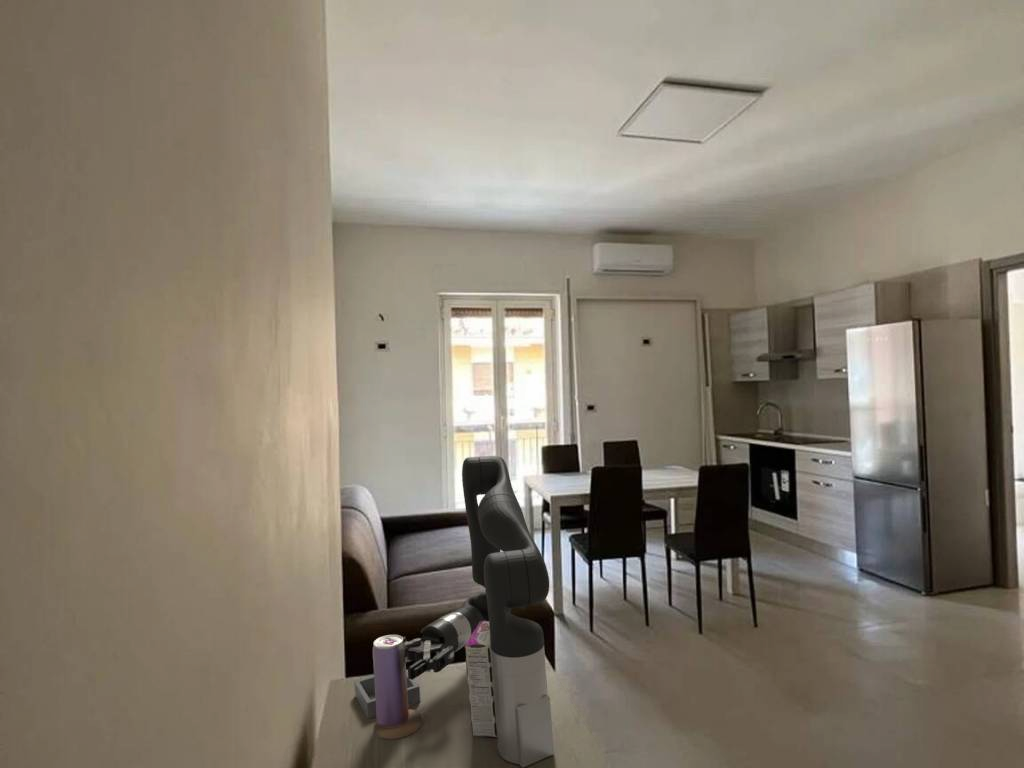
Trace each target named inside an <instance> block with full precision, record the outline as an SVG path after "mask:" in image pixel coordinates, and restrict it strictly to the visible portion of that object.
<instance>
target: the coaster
mask: <svg viewBox="0 0 1024 768" xmlns="http://www.w3.org/2000/svg"><path fill="white" fill-rule="evenodd" d="M408 709H409V708H408ZM423 722H424V719H423V715H422V714H421V712H419V711H417V710H415V709H409V716H408V718H407V720H406V722H405V723H404V724H403V725H401V726H399V727H396V728H391V729H386V728H382V727H381V726H380V725H379V724H378V723H377V720H376V721H375V723H374V725H373V732H374V734H375V736H377V737H378V738H381V739H383V740H399V739H403V738H406V737H409V736H411V735H413V734H415V733H416V732H417V731H418V730H420V728H421V727H422V726H423Z"/></svg>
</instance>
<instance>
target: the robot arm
mask: <svg viewBox="0 0 1024 768" xmlns="http://www.w3.org/2000/svg"><path fill="white" fill-rule="evenodd" d="M461 468H462V469H461V483H462V490H463V499H464V505H465V515H466V521H467V527H468V532H469V540H470V548H471V550H470V551H471V572H472V573H471V574H472V580H473V582H474V583H476V584H477V585H480V586H482V587H483V588H484V590H485V592H475V593H473V594H470V595H469V596H468V598H467V599H466V600H465V601H464V602H463V604H462V605H461V606H460V607H459V608H457V609H456V610H453V611H452V612H449V613H448V614H445V615H443V616H441V617H440V618H438V619H436V620H435V621H433V622H431V623H429V624H427V625H426V626H424V627H423V628H422V629H421V630H420V633H419V634H418V636H417V637H416V638H414V639H412V640H409V641H407V638H406V636H402V637H403V641H404V644H405V651H406V656H405V659H406V663H409V662H414V663H413V664H412V665H410V666H409V667H408V668H407V672H408V679H411V680H413V679H414V680H415V679H416V678H418V677H420V676H421V675H422V674H424V673H429V672H431V671H432V670H433V673H440V672H441V671H442V670H443V669H444V668H446V667H447V666H448V665H450V664H451V663H452V662H454V660H455V653H456V652H457V651H460V649H462V648H463V647H465V645H466V643H467V641H468V640H469V638H470V637H471V635H472V634H473V632H474V630H475V629H476V627H477V625H478V624H479V622H480V621H489V628H490V645H491V659H492V674H493V688H494V702H495V716H496V728H497V737H496V738H497V739H496V741H497V751H498V754H499V756H500V757H501V758H502V759H503V760H505V761H507V762H509V763H511V764H517V765H519V766H520V767H521V768H525V767H528V766H530V765H532V764H535V763H537V762H540V761H541V760H544V759H546V758H548V757H551V756H553V755H554V754H555V749H554V735H553V722H552V721H553V720H552V719H553V718H552V708H551V698H550V695H549V693H548V681H547V680H548V679H547V669H546V668H547V666H546V653H545V638H544V631H543V630H544V629H543V628H542V626H541V625H540V624H539V623H538V622H536V621H534V620H531V619H527V618H524V617H519V616H516V615H514V614H512V613H511V611H512V610H511V609H512V608H517V607H518V608H519V607H526V606H532V605H536V604H540V603H542V602H544V601H545V600H546V599H547V597H548V595H549V592H550V575H549V571H548V568H547V565H546V563H545V559H544V557H543V555H542V553H541V551H540V548H539V547H538V546H537V544H536V542H535V540H534V539H533V537H532V535H531V533H530V531H529V528H528V525H527V521H526V519H525V516H524V513H523V511H522V508H521V505H520V503H519V501H518V499H517V496H516V493H515V492H514V489H513V486H512V485H513V484H512V483H511V482H512V481H511V476H510V473H509V470H508V466H507V463H506V461H505V459H504V457H501V456H499V455H498V456H497V455H484V456H483V455H482V456H480V455H479V456H470V457H466V458H465V459H464V460H463V463H462V467H461ZM479 495H481V496H482V495H484V496H483V497H482V498H481V500H480V502H479V503H478V496H479Z"/></svg>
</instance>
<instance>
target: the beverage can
mask: <svg viewBox="0 0 1024 768" xmlns="http://www.w3.org/2000/svg"><path fill="white" fill-rule="evenodd" d="M403 637H404V636H401V635H399V634H387V635H382V636H379V637H378V638H376V639H375V640H374V641H373V643H372V644H373V646H372V660H373V662H372V663H373V664H372V665H373V676H374V683H375V692H374V696H375V697H374V699H375V700H376V716H375V717H376V721H377V723H378V724H379V725H380V726H381V727H382V728H386V729H391V728H396V727H399V726H401V725H403V724H404V723H405V722H406V720H407V718H408V716H409V705H408V693H407V676H406V671H407V665H406V664H407V662H406V659H405V657H406V650H405V644H404V641H403Z"/></svg>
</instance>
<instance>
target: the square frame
mask: <svg viewBox="0 0 1024 768" xmlns="http://www.w3.org/2000/svg"><path fill="white" fill-rule="evenodd" d="M406 676H407V693H408V706H412V705H413V704H416V703H419V702H421V693H420V692H421V691H420V690H421V689H420V685H419V684H418V682H417V681H415V678H414V679H413V680H411V679H408V670H406ZM354 692H355V693H354V695H355V698H356V699H357V701H358V703H359V705H360V707H361V709H362V710H363V712H364V715H365V716H366V718H367V719H368V720H369V719H372V718H375V717H376V700H375V698H372V699H370V697H369V696H368V694H372V693H375V683H374V675H371V676H368V677H365V678H361V679H358V680H354Z"/></svg>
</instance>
